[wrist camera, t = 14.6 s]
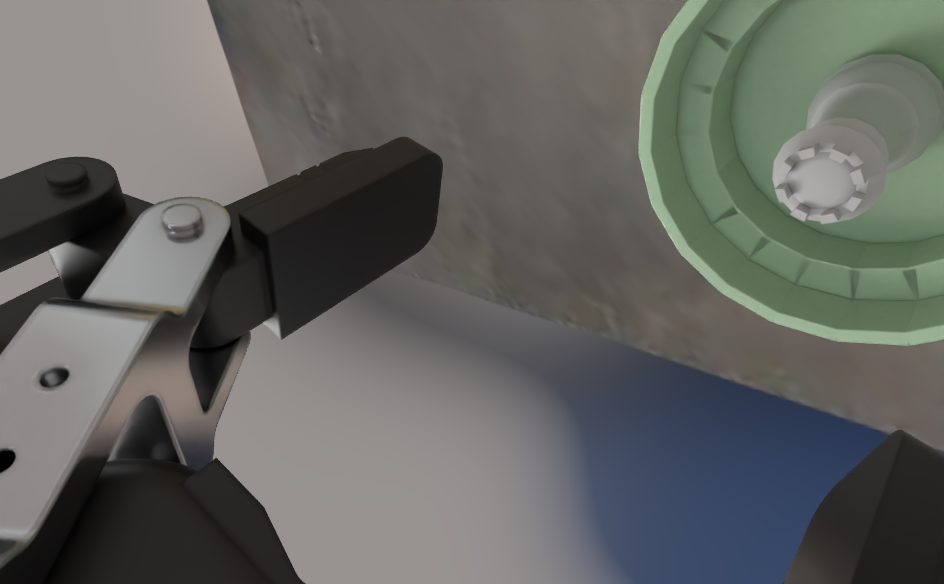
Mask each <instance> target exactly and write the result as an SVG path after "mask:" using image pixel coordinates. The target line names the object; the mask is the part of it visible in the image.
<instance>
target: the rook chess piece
mask: <svg viewBox="0 0 944 584" xmlns="http://www.w3.org/2000/svg"><path fill="white" fill-rule="evenodd" d="M943 121H944V91H943V88H942V84H941V82H940V81H939V80H938V78H937V77H936V76H935V75H934V74H933V73H932V72H931V71H930V70H929V69H928V68H927V67H926V66H925V65H924V64H922V63H920V62H917V61H915V60H912V59H909V58H907V57H904V56H902V55H899V54H895V55H869V56H866V57H863V58H860V59H858V60H855V61H852V62H849V63H847V64H845V65H843V66H842V67H841V68H840V69H838V70H837V71H836V72H835V73H833V74H832V75H831V76H830V77H829V78H827V79H826V80H825V81H824V83H823V85H822V86H821V87H820V89H819V90H818V92H817V94H816V96H815V97H814V99H813V101H812V102H811V104H810V106H809V108H808V116H807V125H806V130H804V131H800V132H799V133H798V134H796V135H795V136H794V137H792V138H791V139H790V140H789V141H787V142H786V143H785V144H784V145H783V146H782V148H781V150H780V151H779V153H778V155H777V157H776V158H775V160H774V166H773V176H772V180H773V183H774V186H775V192H776V195H777V198H778V201H779V203H781V202H784V203H785V204H786V206H787V207H788V208H789V209H790V210H791V211H792V212H791V213H790V215H792V216H794V217H796V218H798V219H800V220H801V221H803V222H805V220H806V219H808V220H813V221H820V222H821V224H826V223H833V222H839V221H844V220H849V219H853V218H855V217H856V216H858V215H860V214H862V213H863V212H865V211H867V210H868V209H870V208H871V207H872V206H873V205H874V203H875V202H876V201H877V199H878V198H879V197H880V195H881V194H882V193H883V191H884V186H885V181H886V176H887V173H890V172H894V171H897V170H899V169H900V168H902V167H904V166H905V165H907V164H909V163H910V162H912V161H913V160H915V159H917V158H918V157H920V156H921V154H922V153H923V152H924V151H925V150H926V149H927V148H928V146H929V145H930V144H931V142H932V141H933V140H934V139H935V137H936V136H937V135H938V133H939V132H940V131H941V129H942V126H943Z"/></svg>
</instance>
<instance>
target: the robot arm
mask: <svg viewBox="0 0 944 584" xmlns="http://www.w3.org/2000/svg"><path fill="white" fill-rule="evenodd" d="M442 170H443V163H442V159H441V158H440V156H439V155H437V154H436V153H434V152H432V151H431V150H429V149H427V148H425V147H424V146H422V145H420V144H419V143H417V142H415V141H414V140H412V139H410V138H408V137H399V138H397V139H395V140H393V141H390V142H388V143H386V144H384V145H382V146H380V147H377V148H375V149H373V148H369V149H363V150H357V151H351V152H345V153H342V154H340V155H337V156H335V157H333V158H331V159H329V160H326V161H324V162H322V163H320V165H319V166H318V167H317V166H316V165H315V166H313V167H311V168H309V169H306V170H304V171H302V172H301V174H300V175H299V176H298V175H297V174H295V175H293V176H291V177H289V178H287V179H284V180H282V181H280V182H278V183H276V184H273V185H271V186H269V187H267V188H265V189H262V190H260V191H258V192H256V193H253V194H251V195H249V196H247V197H245V198H243V199H240V200H238V201H236V202H234V203H231V204H229V205H227V206H224V207H223V206H221V205H220V204H219V203H217V202H214V201H212V200H209V199H205V198H200V197H179V198H173V199H169V200H165V201H162V202H159V203H157V204H155V205H154V204H152V203H149V202H146V201H143V200H140V199H138V198H135V197H132V196H129V195H126V194H123V193H122V190H121V187H120V184H119V181H118V177H117V174H116V171H115V170H114V168H113V167H112V166H111V165H109V164H108V163H106V162H104V161H102V160H99V159H95V158H89V157H68V158H61V159H56V160H52V161H49V162H46V163H43V164H41V165H38V166H35V167H32V168H30V169H27V170H24V171H22V172H19V173H16V174H14V175H11V176H8V177H6V178H3V179H0V272H2V271H5V270H7V269H9V268H11V267H13V266H15V265H18V264H20V263H22V262H24V261H26V260H28V259H30V258H33V257H35V256H37V255H39V254H41V253H44V252H45V251H48V253H49V255H50V257H51V259H52V262H53V264H54V266H55V268H56V270H57V273H58V275H59V277H57V278H54V279H53V280H50V281H48V282H46V283H44V284H42V285H40V286H38V287H36V288H35V289H32V290H30V291H28V292H26V293H24V294H22V295H20V296H18V297H16V298H14V299H12V300H10V301H8V302H6V303H4V304H2V305H0V584H305V583H304V582H302V580H300V578H299V577H298V575H297V574H296V572H295V570H294V568H293V566H292V564H291V562H290V560H289V558H288V556H287V554H286V552H285V549H284V547H283V546H282V543H281V541H280V539H279V537H278V535H277V533H276V531H275V529H274V527H273V525H272V523H271V521H270V519H269V517H268V514H267V512H266V510H265V508H264V507H263V506H262V505H261V504H260V502H258V500H257V499H256V498H255V497H254V496H253V495H252V494H251V493H250V492H249V491H248V490H247V489H246V488H245V487H244V486H243V485H242V484H241V483H240V482H239V481H238V480H237V479H236V478H235V477H234V475H233V474H231V472H230V471H229V470H228V469H227V468H226V467H225V466H224V465H223V464H222V463H221V462H220V461H219V460H218V459H217V458H215V459H214V460H213V454H214V437H215V431H216V427H217V424H218V421H219V419H220V416H221V414H222V411H223V409H224V406H225V404H226V401H227V399H228V396H229V394H230V391H231V389H232V386H233V383H234V381H235V378H236V376H237V374H238V371H239V369H240V366H241V364H242V361H243V359H244V356H245V354H246V351H247V348H248V346H249V343H250V339H251V332H250V330H252V329H253V328H255V327H257V326H258V325H260V324H262V323H263V324H264V325H265V326H266V327H267V328H268V329H270V330H271V331H272V332H273V333H274V334H275V335H277V336H278V337H279V338H280V339H281V340H282V339H283V338H285V337H286V336H288V335H289V334H291V333H293V332H294V331H296V330H297V329H299V328H300V327H302V326H304V325H305V324H307V323H308V322H310V321H311V320H313V319H315V318H316V317H318V316H319V315H321V314H322V313H324V312H326V311H327V310H328V309H330V308H332V307H333V306H335V305H336V304H338V303H339V302H341V301H343V300H344V299H346V298H347V297H349V296H351V295H352V294H354V293H355V292H357V291H358V290H360V289H361V288H363V287H364V286H366V285H368V284H369V283H371V282H372V281H374V280H375V279H377V278H379V277H380V276H382V275H383V274H385V273H386V272H388V271H390V270H391V269H393V268H394V267H396V266H397V265H399V264H401V263H402V262H404V261H405V260H407V259H408V258H410V257H411V256H413V255H415V254H416V253H418V252H419V251H420V250H421V249H423V248H424V246H425V245H426V244H427V243H428V242H429V240H430V238H431V237H432V235H433V233H434V230H435V227H436V223H437V214H438V206H439V197H440V188H441V179H442ZM783 584H944V455H943V454H942V453H940V452H938V451H937V450H935V449H933V448H932V447H930V446H928V445H926V444H925V443H923V442H921V441H920V440H918V439H916V438H915V437H913V436H911V435H909V434H908V433H906V432H904V431H903V430H897V431H895V432H894V433H892V434H891V435H890V436H888V437H887V438H886V439H885V440H884V441H883V442H882V443H881V444H880V445H879V446H878V447H877V448H875V449H874V450H873V451H872V452H871V453H870V454H869V455H868V456H867V457H866V458H865V459H863V460H862V461H861V462H860V463H859V464H858V465H857V466H856V467H855V468H854V469H853V470H852V471H850V472H849V473H848V474H847V475H846V476H845V477H844V478H843V479H842V480H841V481H839V482H838V483H837V484H836V485H835V486H834V487H833V488H832V490H831V491H830V492H829V493H828V494H827V496H826V497H825V498H824V500H823V501H822V502H821V504H820V505H819V507H818V508H817V510H816V512H815V514H814V515H813V517H812V519H811V521H810V523H809V525H808V528H807V530H806V532H805V534H804V537H803V539H802V541H801V543H800V546H799V548H798V550H797V553H796V555H795V557H794V559H793V562H792V564H791V566H790V569H789V571H788V573H787V575H786V578H785V580H784V582H783Z"/></svg>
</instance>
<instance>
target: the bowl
mask: <svg viewBox="0 0 944 584" xmlns="http://www.w3.org/2000/svg"><path fill="white" fill-rule="evenodd" d="M895 54H899V55H902V56H904V57H907V58H909V59H912V60H915V61H917V62H920V63H922V64H924V65H925V66H926V67H927V68H928V69H929V70H930V71H931V72H932V73H933V74H934V75H935V76H936V77H937V78H938V80H939V81H940V82H941V84H942V88H943V91H944V0H688V1H687V2H686V3H685V5H684V6H683V8H682V9H681V10H680V12H679V13H678V14H677V16H676V17H675V18H674V20H673V21H672V23H671V24H670V25H669V27H668V28H667V29H666V31H665V32H664V33H663V36H662V38H661V41H660V43H659V46H658V49H657V52H656V54H655V57H654V60H653V63H652V66H651V68H650V71H649V74H648V77H647V80H646V82H645V85H644V88H643V91H642V94H641V95H642V96H641V109H640V130H639V158H640V162H641V166H642V170H643V173H644V177H645V181H646V185H647V189H648V193H649V197H650V201H651V205H652V206H653V209H654V210H655V212H656V214H657V215H658V217H659V219H660V220H661V222H662V224H663V226H664V227H665V229H666V231H667V232H668V234H669V236H670V237H671V239H672V241H673V243H674V244H675V246H676V248H677V249H678V251H679V252H680V254H681V255H682V256H683V257H684V258H685V259H686V260H687V261H688V262H689V263H691V264H692V265H693V266H694V267H695V268H696V269H697V270H698V271H699V272H700V273H701V274H702V275H703V276H704V277H705V278H706V279H707V280H708V281H709V282H710V283H711V284H712V285H713V286H714V287H715V288H716V289H717V290H718V291H720V292H721V293H722V294H724V295H726V296H727V297H729V298H731V299H733V300H734V301H736V302H738V303H740V304H741V305H743V306H745V307H747V308H748V309H750V310H752V311H754V312H755V313H757V314H759V315H760V316H762V317H764V318H766V319H767V320H769V321H771V322H774V323H776V324H779V325H782V326H786V327H789V328H793V329H796V330H799V331H803V332H806V333H810V334H813V335H816V336H820V337H823V338H827V339H830V340H833V341H838V342H854V343H871V344H888V345H905V346H908V345H917V344H923V343H928V342H934V341H940V340H944V121H943V126H942V129H941V131H940V132H939V133H938V135H937V136H936V137H935V139H934V140H933V141H932V142H931V144H930V145H929V146H928V148H927V149H926V150H925V151H924V152H923V153H922V154H921V156H920V157H918V158H917V159H915V160H913V161H912V162H910V163H909V164H907V165H905V166H904V167H902V168H900V169H899V170H897V171H894V172H890V173H887V176H886V181H885V186H884V191H883V193H882V194H881V195H880V197H879V198H878V199H877V201H876V202H875V203H874V205H873V206H872V207H871V208H870V209H868V210H867V211H865V212H863V213H862V214H860V215H858V216H856V217H855V218H853V219H849V220H844V221H839V222H833V223H826V224H821V222H820V221H813V220H808V219H806V220H805V222H803V221H801V220H800V219H798V218H796V217H794V216H792V215H790V213H791V212H792V211H791V210H790V209H789V208H788V207H787V206H786V204H785V203H784V202H781V203H779V201H778V198H777V195H776V192H775V186H774V183H773V180H772V176H773V166H774V160H775V158H776V157H777V155H778V153H779V151H780V150H781V148H782V146H783V145H784V144H785V143H786V142H787V141H789V140H790V139H791V138H792V137H794V136H795V135H796V134H798V133H799V132H800V131H804V130H806V125H807V116H808V108H809V106H810V104H811V102H812V101H813V99H814V97H815V96H816V94H817V92H818V90H819V89H820V87H821V86H822V85H823V83H824V81H825V80H826V79H827V78H829V77H830V76H831V75H832V74H833V73H835V72H836V71H837V70H838V69H840V68H841V67H842V66H843V65H845V64H847V63H849V62H852V61H855V60H858V59H860V58H863V57H866V56H869V55H895Z"/></svg>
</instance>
